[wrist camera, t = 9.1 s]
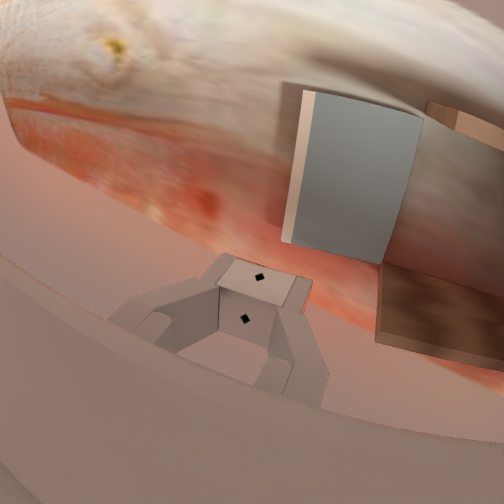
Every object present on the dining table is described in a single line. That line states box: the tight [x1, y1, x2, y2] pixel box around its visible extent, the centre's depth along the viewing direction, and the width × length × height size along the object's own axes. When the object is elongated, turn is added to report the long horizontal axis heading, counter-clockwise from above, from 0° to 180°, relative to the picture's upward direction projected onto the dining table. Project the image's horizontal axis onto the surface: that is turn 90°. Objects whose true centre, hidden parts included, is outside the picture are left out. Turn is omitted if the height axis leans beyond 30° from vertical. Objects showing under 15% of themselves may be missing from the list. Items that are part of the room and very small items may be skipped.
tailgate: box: [280, 89, 423, 265], centre depth 21 cm, size 1×11×8 cm
